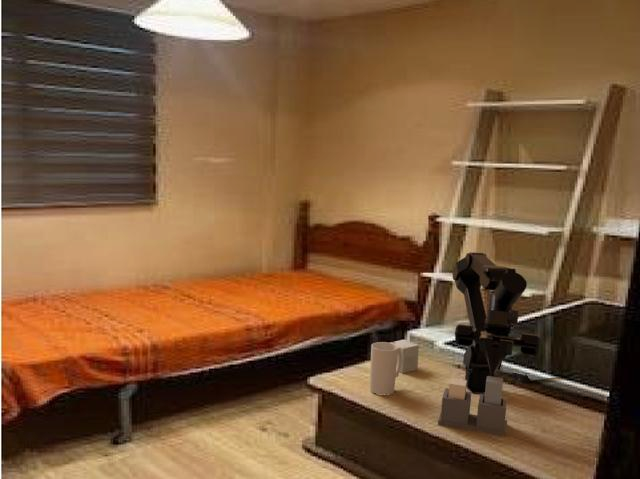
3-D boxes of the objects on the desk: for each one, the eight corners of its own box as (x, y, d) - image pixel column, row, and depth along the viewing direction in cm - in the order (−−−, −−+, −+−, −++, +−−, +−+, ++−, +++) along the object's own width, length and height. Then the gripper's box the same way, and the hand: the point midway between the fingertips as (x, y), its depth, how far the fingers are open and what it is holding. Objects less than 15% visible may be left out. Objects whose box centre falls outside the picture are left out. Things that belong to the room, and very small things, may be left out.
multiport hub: (561, 378, 176) (562, 370, 176) (522, 384, 170) (523, 376, 170) (550, 372, 180) (551, 364, 180) (511, 378, 174) (512, 370, 174)
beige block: (448, 406, 147) (451, 378, 146) (464, 408, 146) (466, 380, 144) (447, 412, 143) (449, 383, 142) (462, 415, 142) (465, 386, 141)
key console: (441, 413, 149) (443, 387, 148) (506, 424, 144) (509, 397, 143) (437, 424, 143) (440, 397, 142) (505, 436, 138) (508, 408, 137)
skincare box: (418, 370, 177) (419, 345, 175) (401, 373, 173) (403, 348, 172) (403, 363, 182) (405, 338, 180) (387, 366, 178) (389, 342, 177)
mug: (381, 398, 156) (384, 352, 154) (363, 389, 161) (365, 345, 159) (409, 389, 162) (412, 345, 160) (390, 381, 167) (393, 338, 165)
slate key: (484, 404, 144) (487, 375, 143) (500, 407, 143) (503, 378, 142) (483, 410, 141) (486, 381, 139) (499, 413, 139) (502, 383, 138)
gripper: (459, 290, 145) (448, 350, 137) (543, 300, 139) (538, 363, 131) (460, 315, 154) (451, 372, 145) (540, 325, 148) (535, 385, 139)
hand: (492, 373), depth 140 cm, fingers closed
